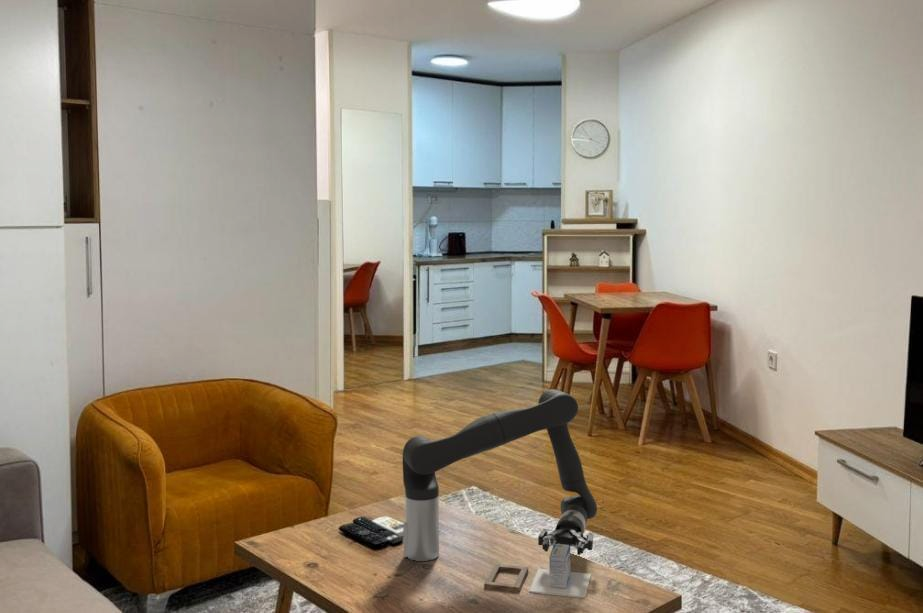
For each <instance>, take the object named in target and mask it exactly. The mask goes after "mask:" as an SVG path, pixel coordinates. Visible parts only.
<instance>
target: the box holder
mask: <svg viewBox="0 0 923 613" xmlns="http://www.w3.org/2000/svg"><path fill="white" fill-rule="evenodd" d="M500 572H507V573H509V572H510V573H518V576H517V578H516V580H515V582H514V584H513V583H505V582H497V581H496V582H495V580H496V579H497V577H498V575H499V573H500ZM527 574H529V567H528V566H521V565H510V564H501V563H494V565H493V567H492V568H491V571H490V572H489V574H488V576H487V578H486V580H485V581H484V585H483V587H484V589H487V590H497V591H504V592H505V591H506V592H507V591H508V592H514V593H515V592H516V593H520V591H521V588H522V586H523V584H524V582H525V579H526V577H527V576H528V575H527Z"/></svg>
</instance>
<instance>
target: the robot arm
mask: <svg viewBox="0 0 923 613" xmlns="http://www.w3.org/2000/svg"><path fill="white" fill-rule="evenodd" d="M578 411H579V404H578V401H577V400H576V399H575V397H573V396H572V395H571V394H569V393H567V392H564V391H561V390H559V389H554V388H553V389H551V388H550V389H547V390H545V391H544V392H542V393H541V395H540V397H539V399H538V403H537V404H534V405H533V406H530V407H524V408H517V409H507V410H503V411H498V412H493V413H491V414H488V415H484V416H481V417H479V418H477V419H475V420H473V421H471V422H470V423H468V424H467V425H466V426H465V427H464V428H462V429H461V430H460V431H458V432H457V433H455V434H453V435H450V436H447V437H444V438H441V439H437V440H431V439H430V438H428V437H426V436H422V435H416V436H413V437H411V438H409V439H408V441H407V440H406V443H405V444H404V446H403V450H402V478H403V479H402V481H403V485H404V490H405V492H404V493H405V494H404V496H405V522H404V523H403V526H402V528H403V532H402V534H403V558H406V557H408V558H407V559H409V560H411V561H414V560H415V562H416V561H417V562H427V561H428V560H429V561H433V560H435V559H437V558H438V557H439V555H440V505H439V504H440V501H439V500H440V499H439V497H440V496H439V495H440V492H439V490H440V488H439V484H438V480H437V477H436V472H438V471H440V470H442V469H445V468H446V467H448V466H451V465H452V464H454V463H456V462H459V461H461V460H463V459H466V458H469V457H472V456H475V455H479V454H480V453H484V452H487V451H490V450H492V449H495V448H499V447H500V446H504V445H506V444H510V443H511V442H513V441H516V440H519V439H521V438H522V439H523V438H524V437H527V436H529V435H532V434H534V433H536V432H539V431H544V430H546V431H547V434H548V436H549V437H548V438H549V439H550V444H551V447H552V449H553V450H552V451H553V453H554V457H555V462H556V466H557V470H558V475H559V480H560V484H561V487H562V489H563V491H565V492H570V493H576V494H578V495H573V496H570V495H569V496H566V497H564V498H563V499H561V502H560V512H561V516H560V517H559V520H558V521H557V524H556V526H555V529H554V530H552V531H551V532H550V531H548V529H547V528H542V529H541V531H540V532H539V534H538V535H537V536H538V538H537V541H538V542H537V544H538V546H542V547H541V548H542V550H543V551H544V552H545V553H546V552H548V551H549V549H550V547H553V546H554V544H564V545H570V547H573V548H575V549H576V552H577V553H576V554H577V556H580V555H581V554H583V553H584V552H585V550H586V549H587V550H588V551H592V550H593V544H594V532H593V533H592V532H588V534H585V531H586V524H587V521H588V520H591V519H593V518H595V517H596V515H597V514H598V513H597V512H598V505H597V502H596V500H595V498H594V496H593V494H592V493H591V491H590V489H589V487H588V484H587V481H586V479H585V474H584V469H583V466H582V460H581V458H580V456H579V453H578V451H577V448H576V446H575V443H574V442H573V440H572V437H571V435H570V431H569V428H568V423H570V422H571V421H572V420H574V419H575V417H576V416H577V415H578ZM584 534H585V535H584ZM429 561H428V562H429Z"/></svg>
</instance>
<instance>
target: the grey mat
mask: <svg viewBox="0 0 923 613" xmlns="http://www.w3.org/2000/svg"><path fill="white" fill-rule="evenodd" d="M549 570H550V569H545V568H538V569H537V571H536V573H535V575H534V578H533V581H532V583H531V585H530V587H529V590H528V593H531V594H541V595H548V596H549V595H550V596H559V597H561V596H562V597H569V598H570V597H571V598H578V599H586V596H587V592H588V589H589V584H590V582H589V581H591V578H592V573H583V572H576V571H575V572H574V571H570V578H569V581H568V585H567V588H566V589H565V588H555V587H550V579H549V578H550V575H549Z"/></svg>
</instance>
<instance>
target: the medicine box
mask: <svg viewBox="0 0 923 613" xmlns="http://www.w3.org/2000/svg"><path fill="white" fill-rule="evenodd" d="M548 558H549V562H548V564H549V569H548V570H549V575H550V578H549V579H550V587H555V588H565V589H566V588H567V585H568V581H569V578H570V572H571V546H570V545H564V544H554V546H552V549H551V551H550V554H549V557H548Z"/></svg>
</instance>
